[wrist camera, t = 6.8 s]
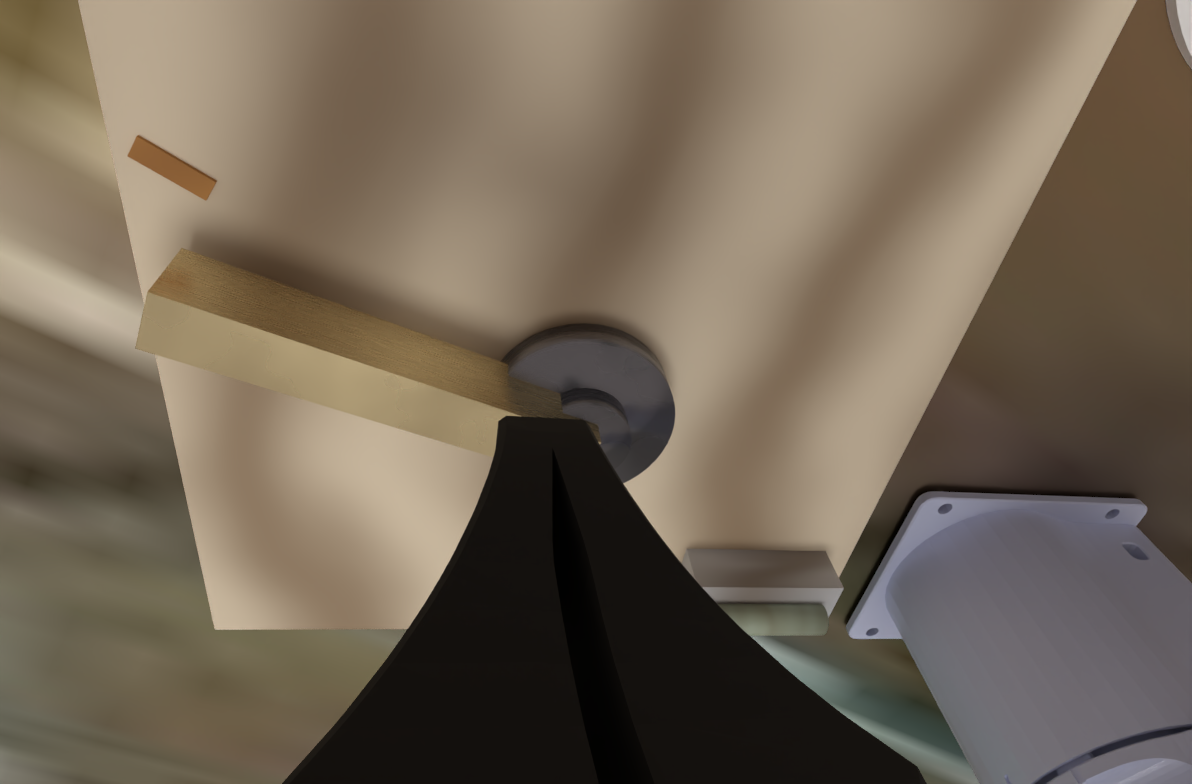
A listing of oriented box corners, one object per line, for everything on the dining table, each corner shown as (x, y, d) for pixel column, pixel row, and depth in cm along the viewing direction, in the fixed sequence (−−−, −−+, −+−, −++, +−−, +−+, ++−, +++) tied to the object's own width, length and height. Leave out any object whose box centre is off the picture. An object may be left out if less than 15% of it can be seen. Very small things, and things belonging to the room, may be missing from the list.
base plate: (1104, -40, 17) (1249, -17, 13) (799, 595, 29) (837, 685, 26) (65, -247, 13) (-71, -281, 10) (227, 592, 25) (191, 697, 22)
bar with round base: (206, 164, 15) (164, 211, 13) (701, 362, 20) (726, 419, 18) (162, 350, 18) (121, 413, 16) (613, 489, 22) (626, 552, 20)
